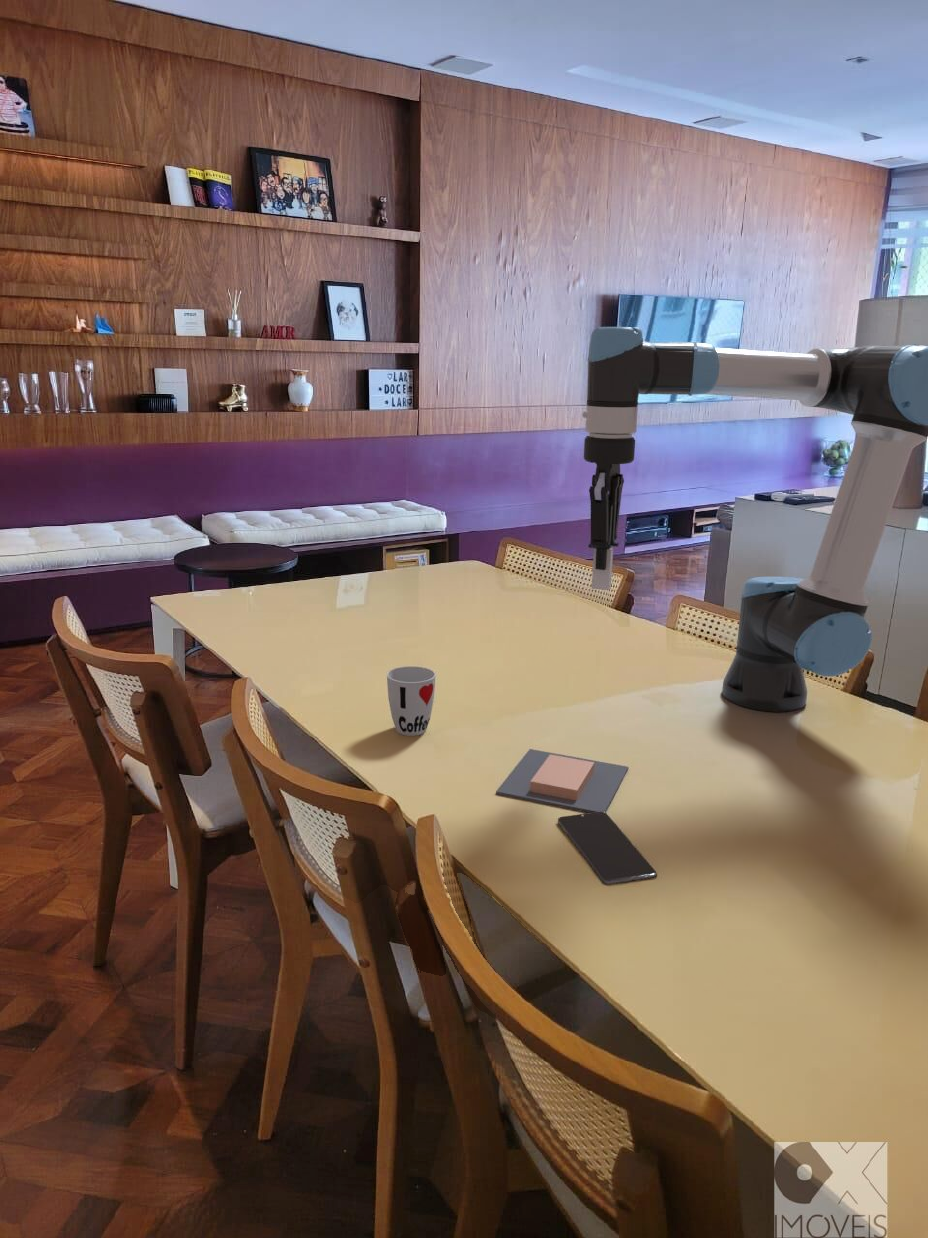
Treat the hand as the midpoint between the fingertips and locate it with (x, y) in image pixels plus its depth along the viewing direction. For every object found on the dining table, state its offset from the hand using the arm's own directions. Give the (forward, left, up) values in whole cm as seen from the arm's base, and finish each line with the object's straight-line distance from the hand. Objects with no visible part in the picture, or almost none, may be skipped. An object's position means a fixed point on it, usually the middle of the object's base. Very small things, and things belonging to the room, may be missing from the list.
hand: (601, 588), depth 142 cm
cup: (+29, +7, -27) cm, 40 cm away
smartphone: (-10, +32, -27) cm, 43 cm away
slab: (0, +11, -25) cm, 28 cm away
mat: (0, +15, -26) cm, 30 cm away
